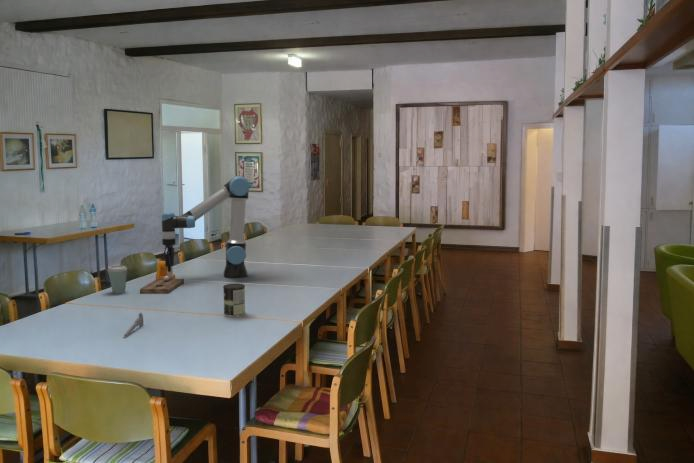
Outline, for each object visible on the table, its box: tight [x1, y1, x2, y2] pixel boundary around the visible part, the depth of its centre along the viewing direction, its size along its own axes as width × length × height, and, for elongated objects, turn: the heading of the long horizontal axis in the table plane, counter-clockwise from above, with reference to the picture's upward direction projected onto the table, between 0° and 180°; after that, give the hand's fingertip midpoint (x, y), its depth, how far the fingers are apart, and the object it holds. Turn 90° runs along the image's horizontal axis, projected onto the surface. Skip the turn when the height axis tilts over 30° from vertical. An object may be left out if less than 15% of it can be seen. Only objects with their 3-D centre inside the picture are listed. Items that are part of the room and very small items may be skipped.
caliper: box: [123, 312, 144, 339], centre depth 262 cm, size 20×1×6 cm, turn 178°
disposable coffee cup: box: [107, 264, 128, 295], centre depth 339 cm, size 11×11×15 cm
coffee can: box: [222, 283, 246, 318], centre depth 290 cm, size 10×10×14 cm
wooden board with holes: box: [139, 278, 185, 295], centre depth 352 cm, size 16×30×2 cm, turn 179°
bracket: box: [155, 260, 176, 280], centre depth 375 cm, size 11×7×12 cm, turn 162°
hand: (170, 276), depth 366 cm, fingers closed
